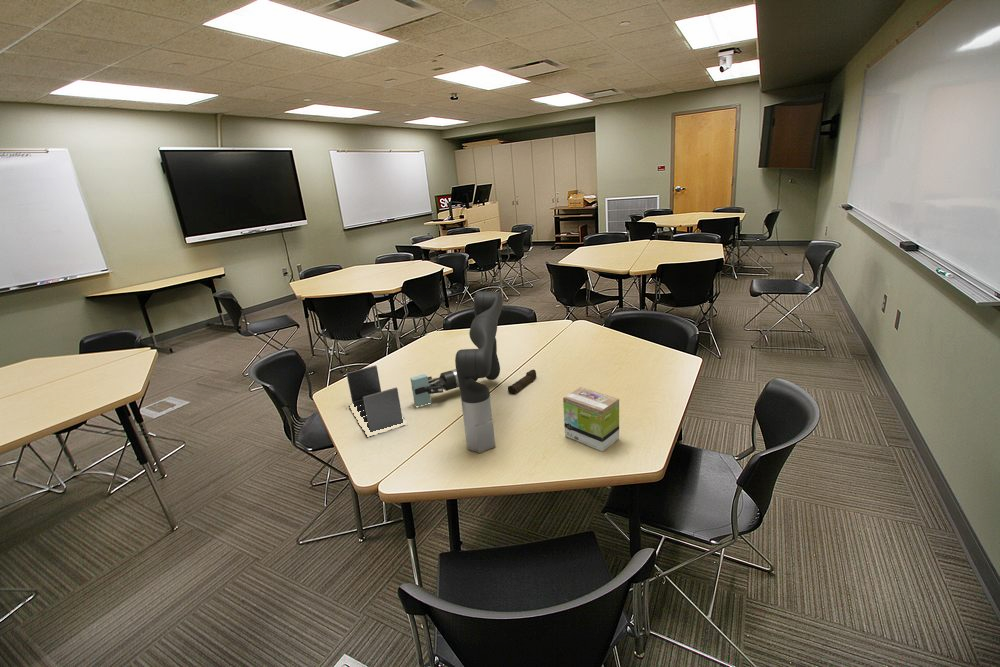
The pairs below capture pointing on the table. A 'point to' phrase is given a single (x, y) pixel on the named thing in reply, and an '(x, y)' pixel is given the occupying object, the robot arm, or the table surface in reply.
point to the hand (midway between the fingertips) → (413, 390)
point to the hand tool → (522, 382)
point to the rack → (374, 399)
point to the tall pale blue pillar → (418, 383)
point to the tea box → (591, 418)
